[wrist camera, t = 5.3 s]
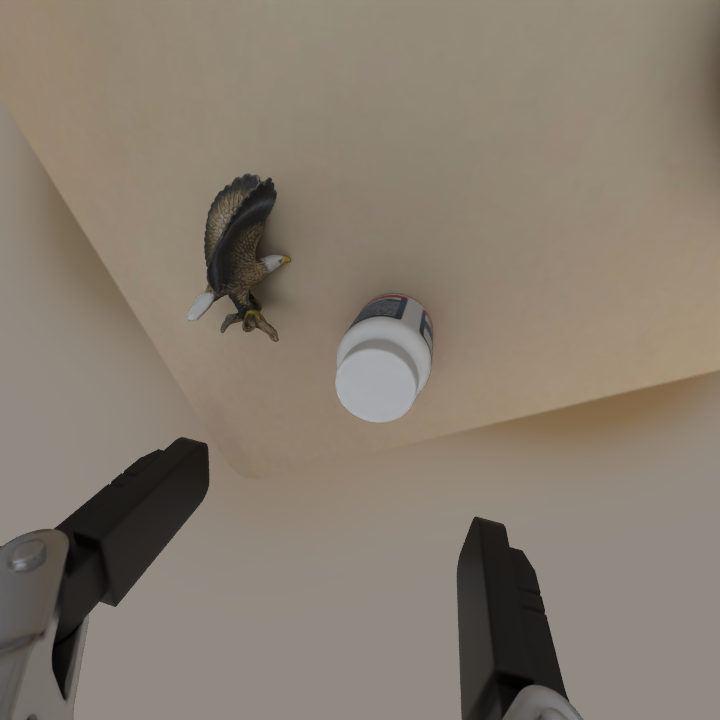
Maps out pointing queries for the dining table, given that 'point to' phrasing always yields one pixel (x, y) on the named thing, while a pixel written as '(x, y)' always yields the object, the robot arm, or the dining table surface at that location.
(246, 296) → the eagle figurine
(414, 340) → the pill bottle
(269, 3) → the dining table surface
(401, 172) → the dining table surface
